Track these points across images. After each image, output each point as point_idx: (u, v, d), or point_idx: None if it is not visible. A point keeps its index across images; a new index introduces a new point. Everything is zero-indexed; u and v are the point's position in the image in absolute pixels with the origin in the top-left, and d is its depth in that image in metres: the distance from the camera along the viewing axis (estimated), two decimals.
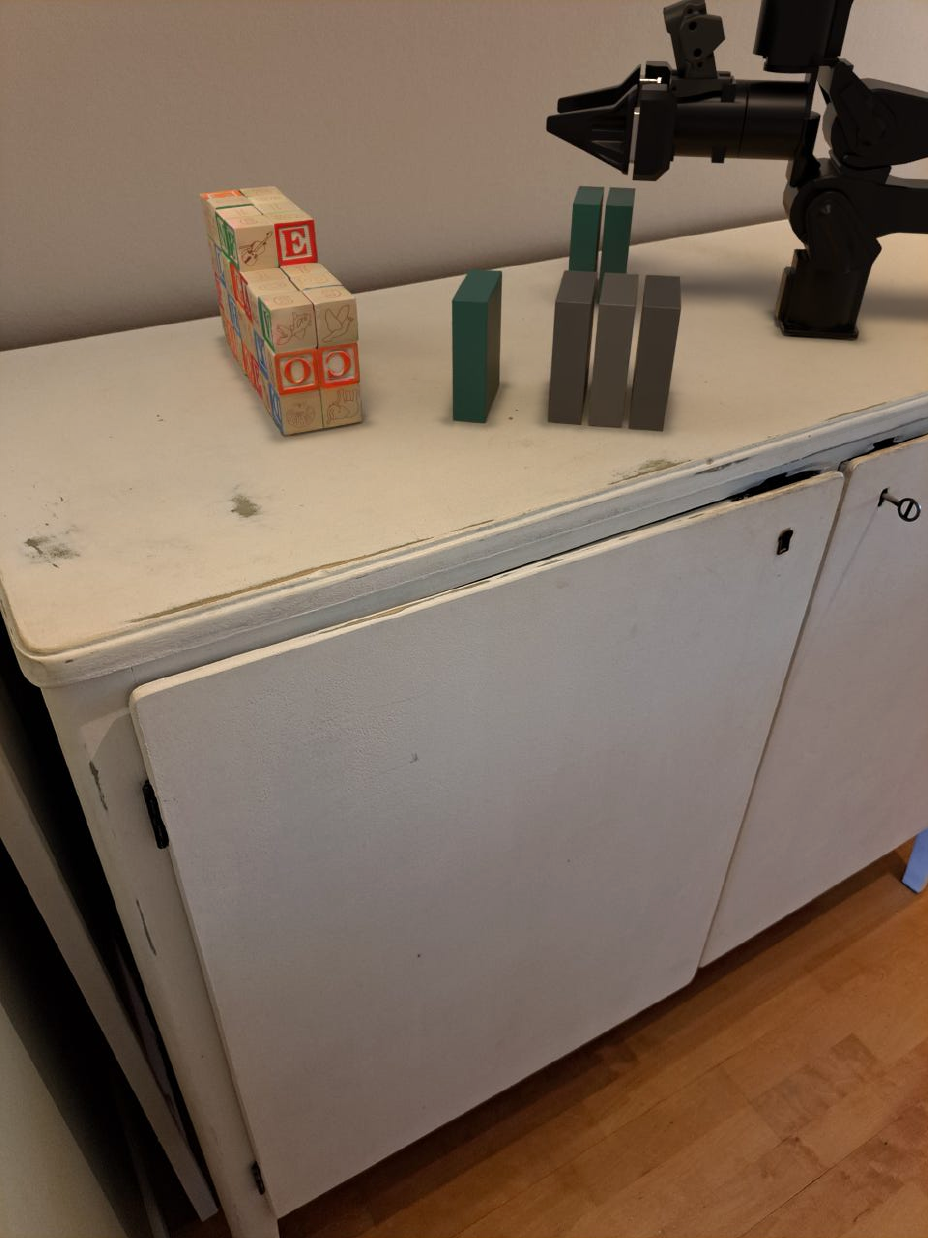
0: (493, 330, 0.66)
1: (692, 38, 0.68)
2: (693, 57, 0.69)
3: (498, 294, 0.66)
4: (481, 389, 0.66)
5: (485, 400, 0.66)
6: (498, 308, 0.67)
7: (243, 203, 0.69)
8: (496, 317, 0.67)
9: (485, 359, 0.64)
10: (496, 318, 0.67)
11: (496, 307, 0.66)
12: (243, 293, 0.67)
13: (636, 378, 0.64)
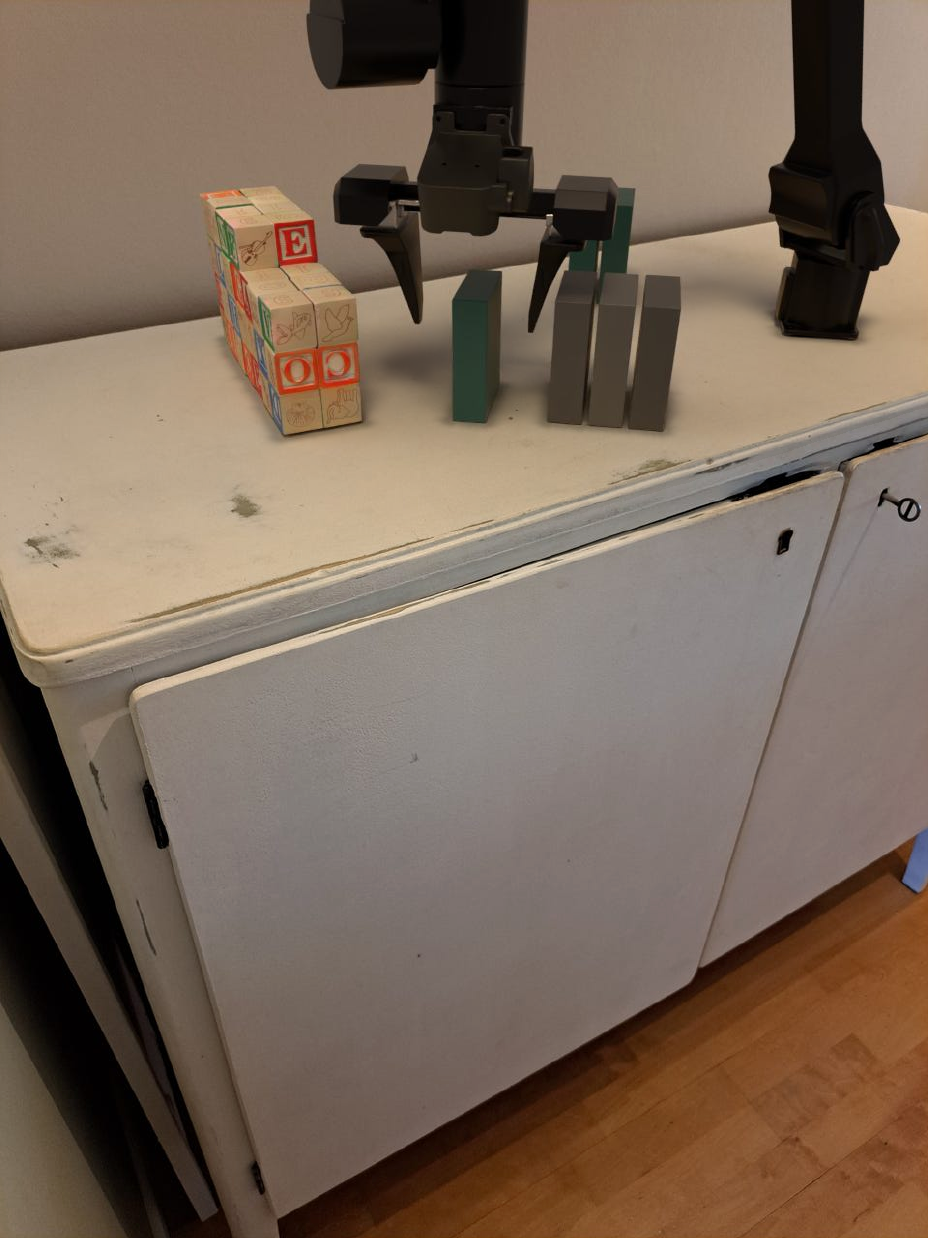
0: (493, 330, 0.66)
1: (530, 190, 0.55)
2: (533, 181, 0.55)
3: (498, 294, 0.66)
4: (481, 389, 0.66)
5: (485, 400, 0.66)
6: (498, 308, 0.67)
7: (243, 203, 0.69)
8: (496, 317, 0.67)
9: (485, 359, 0.64)
10: (496, 318, 0.67)
11: (496, 307, 0.66)
12: (243, 293, 0.67)
13: (636, 378, 0.64)
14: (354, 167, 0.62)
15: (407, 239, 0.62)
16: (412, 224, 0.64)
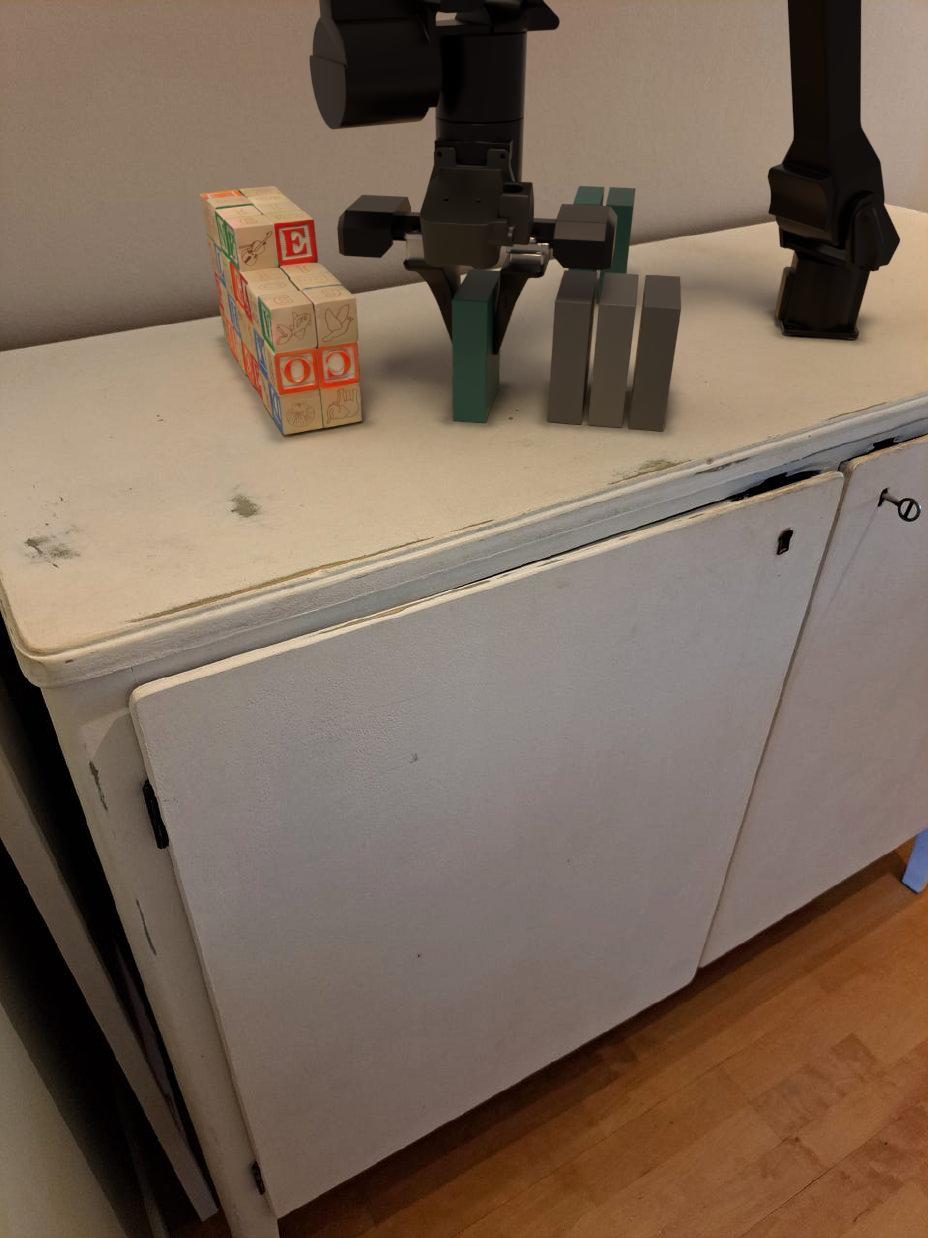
0: (493, 330, 0.66)
1: (531, 224, 0.56)
2: (533, 214, 0.57)
3: (498, 294, 0.66)
4: (481, 389, 0.66)
5: (485, 400, 0.66)
6: None
7: (243, 203, 0.69)
8: None
9: (485, 359, 0.64)
10: None
11: (496, 307, 0.66)
12: (243, 293, 0.67)
13: (636, 378, 0.64)
14: (357, 199, 0.63)
15: (449, 271, 0.63)
16: None
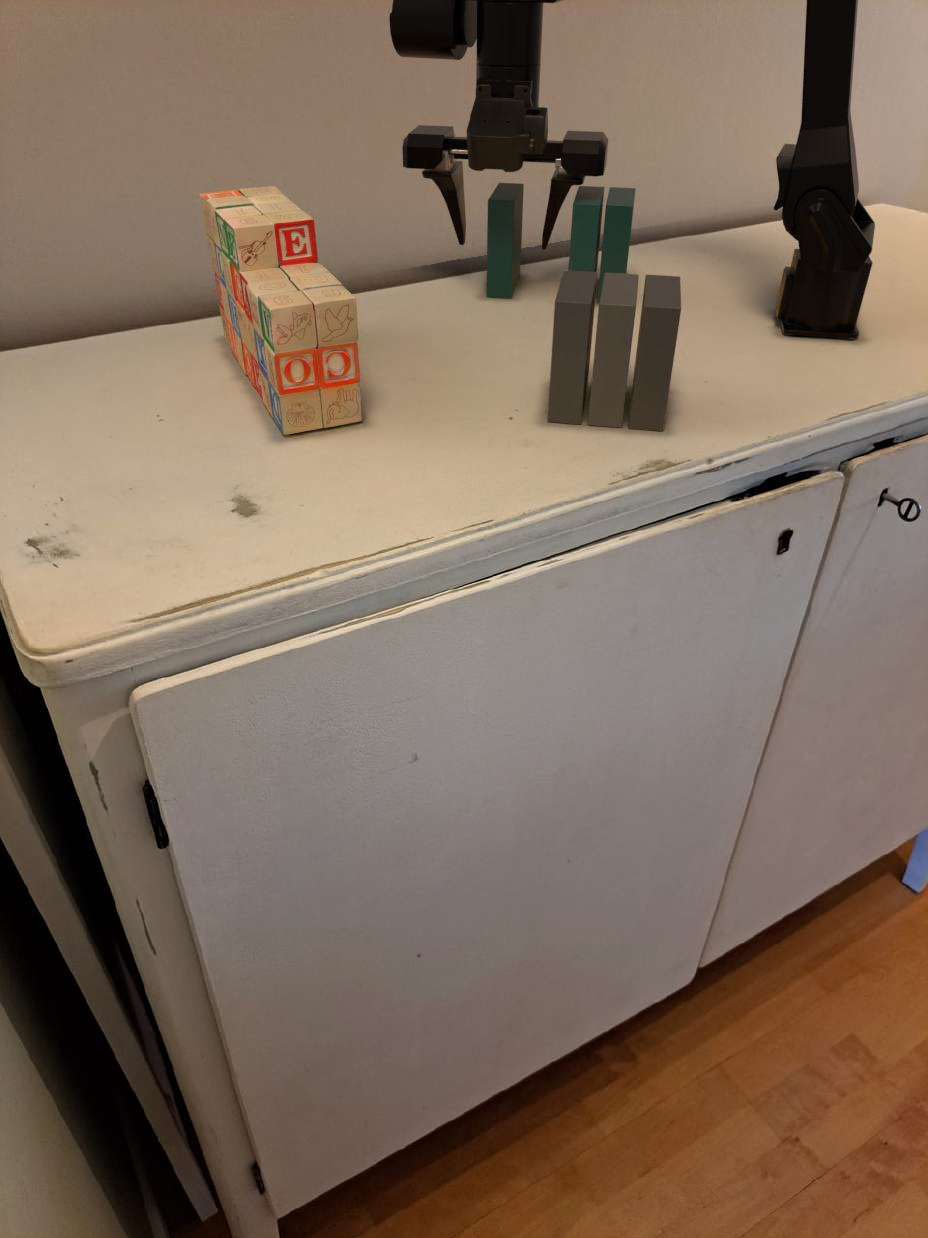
0: (517, 227, 0.88)
1: (546, 139, 0.78)
2: (547, 133, 0.79)
3: (521, 200, 0.88)
4: (508, 271, 0.88)
5: (511, 280, 0.88)
6: (520, 212, 0.89)
7: (243, 203, 0.69)
8: (519, 218, 0.89)
9: (511, 246, 0.86)
10: (519, 219, 0.89)
11: (519, 210, 0.88)
12: (243, 293, 0.67)
13: (636, 378, 0.64)
14: (416, 127, 0.85)
15: (456, 179, 0.86)
16: (458, 169, 0.87)
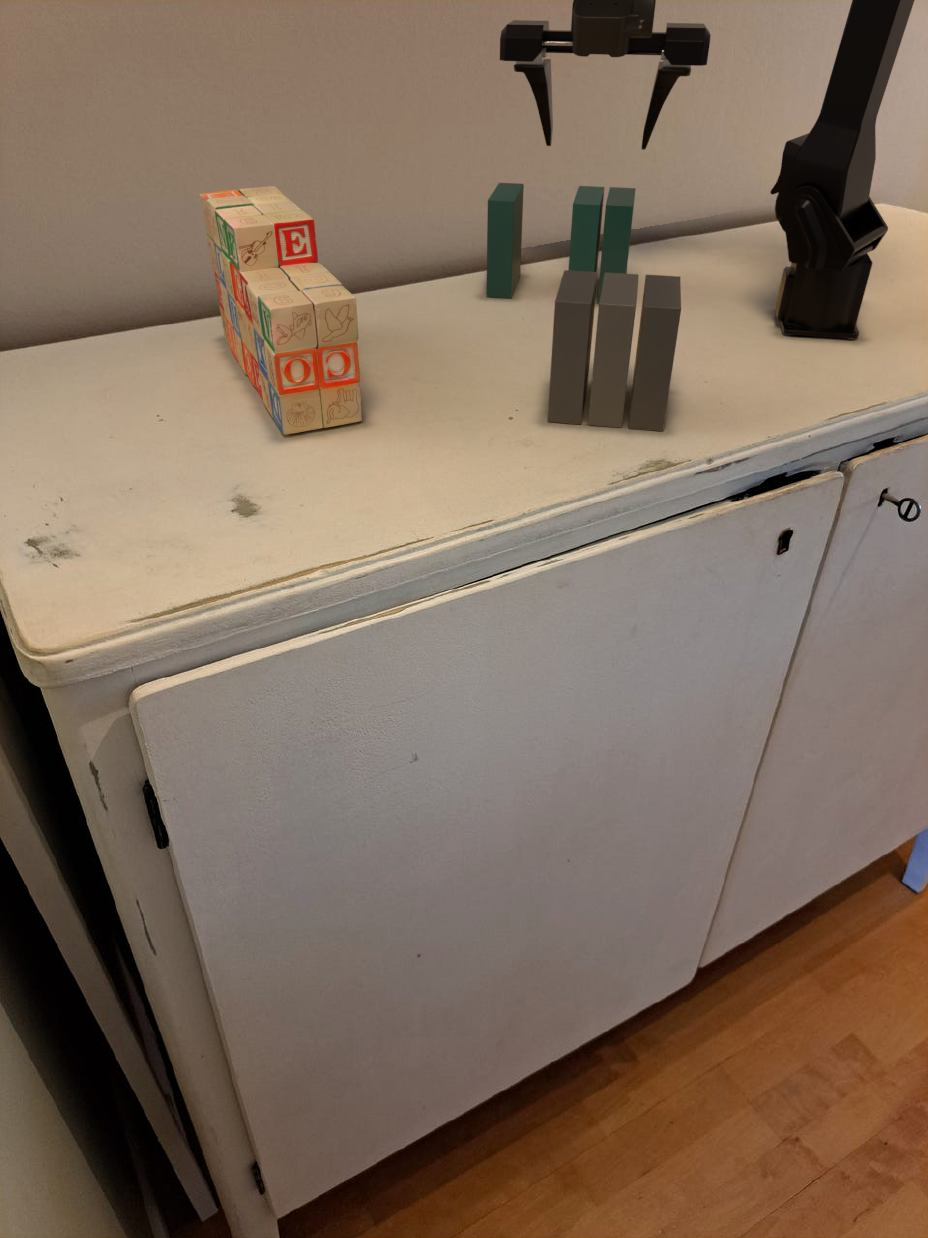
0: (517, 227, 0.88)
1: None
2: None
3: (521, 200, 0.88)
4: (508, 271, 0.88)
5: (511, 279, 0.88)
6: (520, 212, 0.89)
7: (243, 203, 0.69)
8: (519, 218, 0.89)
9: (511, 246, 0.86)
10: (519, 219, 0.89)
11: (519, 210, 0.88)
12: (243, 293, 0.67)
13: (636, 378, 0.64)
14: None
15: (547, 74, 0.84)
16: (548, 65, 0.86)
